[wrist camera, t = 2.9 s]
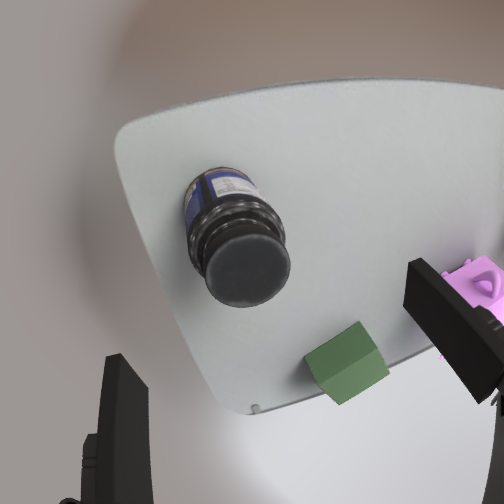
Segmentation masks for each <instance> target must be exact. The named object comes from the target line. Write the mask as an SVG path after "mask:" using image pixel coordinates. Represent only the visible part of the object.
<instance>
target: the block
mask: <svg viewBox="0 0 504 504" xmlns="http://www.w3.org/2000/svg"><path fill="white" fill-rule="evenodd" d="M304 357H305V359H306V362H307V364H308V366H309V368H310V370H311V373H312V375H313V377H314V379H315V381H316V384H317V386H319V387H320V388H321V389H322V390H323V391H324V392H325V393H326V394H327V395H328V396H329V397H331V398H332V399H333V400H334V401H335V402H336V403H337V404H338V405H340V404H342V403H344V402H346V401H347V400H349V399H351V398H352V397H354V396H356V395H357V394H359V393H361V392H362V391H364V390H365V389H367V388H369V387H370V386H372V385H373V384H375V383H377V382H378V381H380V380H381V379H383V378H384V377H385V376H387V375H389V374H390V372H389V370H388V368H387V366H386V364H385V362H384V359H383V357H382V355H381V353H380V351H379V349H378V347H377V346H376V344H375V343H374V342H373V340H372V339H371V337H370V336H369V334H368V333H367V331H366V330H365V328H364V327H363V325H362V324H361V322H360V321H359V322H357V323H356V324H354V325H353V326H351V327H350V328H348V329H347V330H345V331H344V332H342V333H341V334H339V335H338V336H336V337H335V338H333V339H331V340H330V341H328V342H327V343H325V344H324V345H322V346H320V347H319V348H317V349H316V350H314V351H312V352H311V353H309V354H307V355H306V356H304Z"/></svg>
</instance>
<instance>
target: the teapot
mask: <svg viewBox="0 0 504 504" xmlns="http://www.w3.org/2000/svg"><path fill="white" fill-rule="evenodd" d="M441 276H442V277H443V278H444V279H445V280H446V281H447V282H448V283H449V284H450V285H451V286H452V287H453V288H454V289H455V290H456V291H457V292H458V293H459V294H460V295H461V296H462V297H463V298H464V299H465V300H466V301H467V302H468V303H469V304H470V305H471V306H472V307H473V308H475V307H476V306H478V305H481V306H483V307H484V308H486V309H488V310H490V311H491V312H492V313H493V314H494V315H495V317H496V318H497V320H499V321H500V322H501V323H502V324H504V271H503V270H502V269H500V268H499V267H498V266H497V265H496V264H494V263H493V262H492V261H491V260H489V259H488V258H487V257H486V256H484V255H483V256H481V257H479V258H478V259H476V260H474V261H472V262H471V260H470V259H467V260H466V261H465V262H464V263H463V265H462V268H460V269H458V270H456V271H454V272H452V273H451V274H448V272H446V271H445V272H443V273H442V274H441ZM442 358H444V357H443V355H441V357H440V359H442Z"/></svg>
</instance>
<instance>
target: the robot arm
mask: <svg viewBox="0 0 504 504" xmlns="http://www.w3.org/2000/svg"><path fill="white" fill-rule="evenodd" d="M403 307H404V308H405V309H406V310H407V312H408V313H409V314H410V315H411V317H412V318H413V319H414V320H415V321H416V323H417V324H418V325H419V326H420V328H421V329H422V330H423V331H424V332H425V334H426V335H427V336H428V338H429V339H430V340H431V341H432V343H433V344H434V345H435V346H436V348H437V349H438V350H439V352H440V353H441V354H442V355H443V357H444V358H445V359H446V360H447V362H448V363H449V365H450V366H451V367H452V368H453V370H454V371H455V372H456V374H457V375H458V377H459V378H460V379H461V381H462V382H463V383H464V385H465V386H466V387H467V389H468V390H469V392H470V393H471V394H472V396H473V397H474V399H475V400H476V402H477V403H478V404H480V403H481V402H482V401H484V400H485V399H486V398H488V397H489V396H490V395H491V394H492V393H493V391H494V390H495V388H497V389H498V390H499V392H498V393H497V394H496V396H495V397H494V398H493V400H492V402H491V406H493V405H494V403H495V402H496V401H497V404H496V406H497V411H496V423H495V433H494V442H493V449H492V456H491V463H490V469H489V474H488V479H487V484H486V488H485V493H484V497H483V501H482V504H504V326H503V324H502V323H501V322H500V321H499V320H497V318H496V317H495V315H494V314H493V313H492V312H491V311H490V310H488V309H486V308H484V307H483V306H481V305H478V306H476V307H475V308H473V307H472V306H471V305H470V304H469V303H468V302H467V301H466V300H465V299H464V298H463V297H462V296H461V295H460V294H459V293H458V292H457V291H456V290H455V289H454V288H453V287H452V286H451V285H450V284H449V283H448V282H447V281H446V280H445V279H444V278H443V277H442V276H441V275H440V274H438V273H437V272H436V271H435V270H434V269H433V268H432V267H431V266H430V265H429V264H428V263H427V262H426V261H424V260H423V259H422V258H418V259H416V260H413V261H411V262H408V270H407V279H406V288H405V295H404V302H403ZM148 412H149V411H148V387H147V386H146V385H145V384H144V383H143V381H142V380H141V379H140V377H139V376H138V375H137V374H136V372H135V371H134V370H133V369H132V367H131V366H130V365H129V363H128V362H127V361H126V360H125V358H124V357H123V356H122V354H121V353H119V354H115V355H111V356H107V357H106V360H105V367H104V374H103V381H102V389H101V398H100V407H99V418H98V430H97V433H96V434H88V436H87V438H86V440H85V443H84V445H83V459H82V467H83V468H82V475H81V501H78V500H75V499H73V498H65V499H64V500H62V501H61V502H60V503H59V504H154V502H153V492H152V480H151V466H150V446H149V415H148Z"/></svg>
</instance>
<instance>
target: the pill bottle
mask: <svg viewBox="0 0 504 504" xmlns="http://www.w3.org/2000/svg"><path fill="white" fill-rule="evenodd" d="M184 209H185V222H186V233H187V243H188V252H189V256H190V260H191V262H192V264H193V266H194V268H195V269H196V270H197V271H198V273H199V274H200V275H201V276H202V277H204V278H205V282H206V285H207V288H208V290H209V291H210V293H211V294H212V296H214V297H215V299H217V300H218V301H220V302H221V303H223V304H225V305H228V306H232V307H237V308H246V307H253V306H257V305H259V304H262V303H264V302H266V301H268V300H270V299H272V298H273V297H274V296H275V295H276V294H277V293H278V292H279V291H280V290H281V289H282V288H283V287H284V285H285V283H286V281H287V279H288V277H289V272H290V258H289V254H288V252H287V250H286V248H285V232H284V227H283V224H282V222H281V219H280V217H279V216H278V215H277V214H276V212H275V211H274V210H273V208H272V207H271V206H270V205H269V203H268V202H267V201H266V199H265V198H264V197H263V195H262V194H261V193H260V192H259V190H258V189H257V188H256V187H255V185H254V184H253V183H252V181H251V180H250V179H249V178H248V177H247V176H246V175H245V174H243V173H242V172H240V171H238V170H236V169H232V168H227V167H218V168H214V169H210V170H208V171H206V172H204V173H203V174H201V175H199V176H198V177H197V178H195V179H194V181H193V182H192V183H191V184H190V186H189V188H188V190H187V192H186V196H185V201H184Z"/></svg>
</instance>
